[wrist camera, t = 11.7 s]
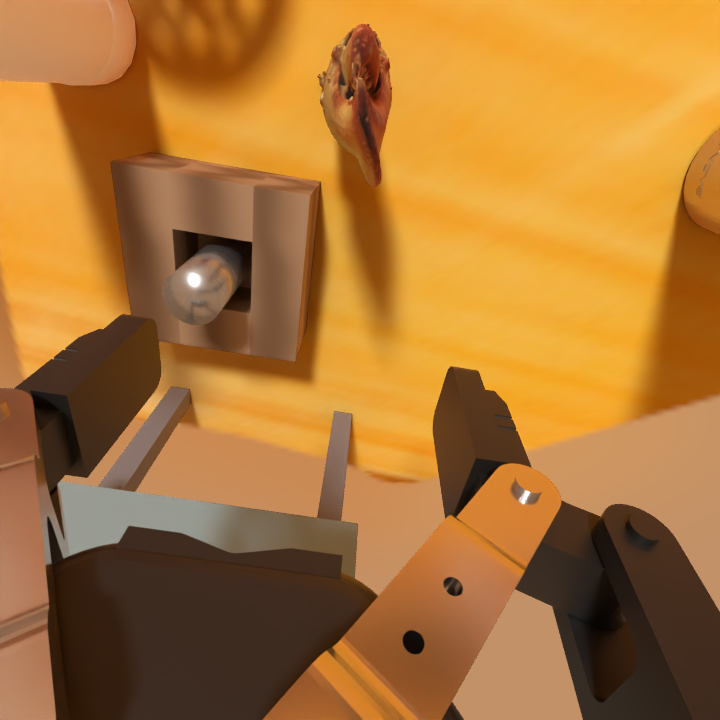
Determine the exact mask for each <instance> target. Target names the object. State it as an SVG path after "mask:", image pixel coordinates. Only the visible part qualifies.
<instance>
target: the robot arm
mask: <svg viewBox="0 0 720 720" xmlns="http://www.w3.org/2000/svg"><path fill="white" fill-rule="evenodd" d="M684 203H685V207H686V210H687V212H688V214H689V216H690V217H691V219H692V220H693V221H694V222H695V223H697V224H698V225H699V226H700V227H703V228H705V229H707V230H709V231H712V232H714V233H717V234H719V235H720V129H719V130H717V131H716V132H715V133H714V134H713V135H712V136H711V137H710V138H709V139H708V140H707V141H706V143H705V144H704V145H703V146H702V147H701V149H700V150H699V152H698V153H697V155H696V157H695V158H694V160H693V161H692V163H691V166H690V168H689V171H688V173H687V176H686V180H685V185H684ZM160 377H161V361H160V351H159V341H158V332H157V325H156V322H155V321H154V320H153V319H151V318H144V317H138V316H132V315H125V314H123V315H120V316H119V317H118V318H116V319H115V320H114V321H113V322H112V323H110V324H109V325H108V326H107V327H106V328H104V329H103V330H102V329H98V330H96V331H93V332H91V333H88V334H86V335H83V336H81V337H79V338H78V339H76V340H75V341H74V342H73V343H71V344H70V345H69V346H67V347H66V350H62V351H61V352H60V353H59V354H57V355H56V356H55V357H54V360H53V359H51V360H50V361H48V362H47V363H46V364H45V365H43V366H42V367H41V368H40V369H38V370H37V371H36V372H35V373H33V374H32V375H31V376H29V377H28V378H27V379H26V380H24V381H23V382H22V383H21V384H19V385H18V386H17V387H16V388H14V389H13V388H0V720H464V719H463V717H462V716H461V715H460V713H459V711H458V710H457V709H456V707H455V705H454V704H453V703H452V700H453V698H454V697H455V695H456V693H457V691H458V689H459V688H460V686H461V684H462V682H463V681H464V679H465V677H466V675H467V674H468V672H469V670H470V668H471V666H472V665H473V663H474V661H475V659H476V657H477V656H478V654H479V652H480V650H481V649H482V647H483V645H484V643H485V641H486V640H487V638H488V636H489V634H490V632H491V631H492V629H493V627H494V625H495V623H496V622H497V620H498V618H499V616H500V615H501V613H502V611H503V609H504V608H505V606H506V603H507V602H508V600H509V599H510V596H511V595H512V593H513V591H514V590H515V589H516V590H518V591H520V592H522V593H525V594H527V595H529V596H532V597H533V598H535V599H538V600H540V601H542V602H544V603H546V604H549V605H551V606H552V607H553V610H554V614H555V618H556V622H557V625H558V629H559V633H560V636H561V640H562V643H563V648H564V651H565V655H566V658H567V662H568V666H569V670H570V673H571V677H572V680H573V684H574V688H575V691H576V695H577V699H578V702H579V706H580V710H581V713H582V717H583V720H720V612H719V610H718V608H717V607H716V605H715V603H714V602H713V600H712V598H711V597H710V595H709V593H708V592H707V590H706V588H705V586H704V585H703V583H702V581H701V580H700V578H699V577H698V575H697V573H696V571H695V570H694V568H693V566H692V565H691V563H690V561H689V560H688V558H687V556H686V555H685V553H684V551H683V550H682V548H681V546H680V545H679V543H678V541H677V540H676V538H675V537H674V535H673V534H672V533H671V532H670V530H669V529H668V528H667V527H666V526H664V524H662V523H661V522H660V521H659V520H657V519H656V518H655V517H653V516H652V515H650V514H648V513H647V512H645V511H643V510H641V509H638V508H636V507H633V506H629V505H624V504H615V505H611V506H609V507H608V508H607V509H606V510H605V511H604V513H603V514H602V516H601V517H600V516H598V515H595V514H593V513H590V512H588V511H585V510H582V509H580V508H577V507H575V506H572V505H570V504H568V503H566V502H564V501H562V500H561V496H560V493H559V491H558V489H557V488H556V486H555V485H554V484H553V483H552V481H550V480H549V479H548V478H547V477H546V476H545V475H543V474H542V473H540V472H539V471H537V470H535V469H533V468H531V465H530V462H529V460H528V457H527V455H526V452H525V449H524V447H523V444H522V442H521V439H520V437H519V434H518V432H517V431H516V427H515V424H514V422H513V420H511V418H512V417H511V414H510V412H509V409H508V407H507V404H506V403H505V402H504V401H503V400H502V399H501V398H500V397H499V396H498V395H497V393H496V392H495V391H490V390H485V388H484V385H483V382H482V380H481V377H480V374H479V372H478V371H477V370H471V369H465V368H458V367H452V366H451V367H450V368H449V369H448V371H447V374H446V377H445V380H444V384H443V387H442V390H441V393H440V397H439V400H438V403H437V406H436V410H435V414H434V419H433V437H434V444H435V451H436V458H437V465H438V472H439V479H440V486H441V493H442V500H443V506H444V513H445V520H444V521H443V522H442V523H441V524H440V525H439V527H438V528H437V529H436V530H435V531H434V532H433V534H432V535H431V536H430V537H429V538H428V539H427V540H426V542H425V543H424V544H423V545H422V546H421V548H420V549H419V550H418V551H417V552H416V553H415V555H414V556H413V557H412V558H411V559H410V560H409V561H408V563H407V564H406V565H405V566H404V567H403V568H402V569H401V571H400V572H399V573H398V574H397V575H396V576H395V577H394V579H393V580H392V581H391V582H390V583H389V584H388V586H387V587H386V588H385V589H384V590H383V591H382V592H381V594H380V595H379V596H378V595H377V594H376V593H374V592H373V591H372V590H371V589H370V588H368V587H367V586H365V585H364V584H363V583H361V582H360V581H358V580H356V579H354V578H353V577H351V576H349V575H346V574H344V573H342V572H341V568H342V557H343V555H337V554H330V553H322V552H315V551H308V550H301V549H294V548H287V549H276V550H266V551H255V552H245V553H230V552H227V551H225V550H222V549H220V548H217V547H215V546H212V545H210V544H208V543H205V542H203V541H200V540H198V539H195V538H193V537H191V536H188V535H186V534H183V533H179V532H171V531H164V530H157V529H150V528H143V527H135V526H128V528H127V529H126V531H125V533H124V534H123V536H122V538H121V539H120V541H119V543H113V544H107V545H102V546H97V547H94V548H90V549H87V550H84V551H81V552H78V553H76V554H73V555H70V552H69V546H68V539H67V532H66V526H65V519H64V512H63V506H62V499H61V493H60V489H59V486H58V483H59V482H60V480H61V479H62V478H63V477H64V476H65V475H71V476H78V477H85V478H87V477H88V476H89V475H90V474H91V472H92V471H93V470H94V468H95V467H96V466H97V464H98V463H99V462H100V460H101V459H102V458H103V457H104V456H105V454H106V453H107V452H108V450H109V449H110V448H111V446H112V445H113V444H114V443H115V441H116V440H117V439H118V438H119V436H120V435H121V434H122V432H123V431H124V430H125V429H126V427H127V426H128V425H129V423H130V422H131V421H132V420H133V418H134V417H135V416H136V415H137V413H138V412H139V411H140V409H141V408H142V407H143V406H144V404H145V403H146V402H147V400H148V399H149V398H150V397H151V395H152V394H153V393H154V391H155V390H156V388H157V386H158V384H159V381H160Z"/></svg>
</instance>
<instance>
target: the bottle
mask: <svg viewBox="0 0 720 720" xmlns="http://www.w3.org/2000/svg"><path fill="white" fill-rule="evenodd" d="M135 47H136V30H135V19H134V17H133V14H132V11H131V8H130V5H129V2H128V0H0V81H20V82H45V83H62V84H65V85H99V84H108V83H110V82H112V81H114V80H116V79H118V78H120V77H122V76H123V74H124V73H125V71H126V70H127V69H128V67H129V66H130V65H131V63H132V60H133V56H134V52H135Z"/></svg>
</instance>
